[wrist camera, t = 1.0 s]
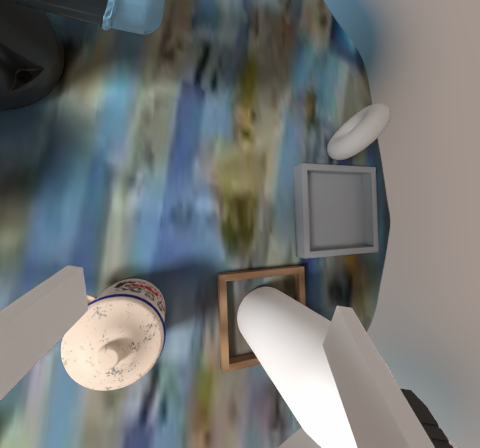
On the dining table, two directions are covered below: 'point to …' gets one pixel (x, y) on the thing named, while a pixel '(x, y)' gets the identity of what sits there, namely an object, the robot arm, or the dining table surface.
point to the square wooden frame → (225, 361)
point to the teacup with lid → (116, 336)
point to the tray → (335, 210)
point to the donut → (359, 131)
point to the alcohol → (297, 362)
